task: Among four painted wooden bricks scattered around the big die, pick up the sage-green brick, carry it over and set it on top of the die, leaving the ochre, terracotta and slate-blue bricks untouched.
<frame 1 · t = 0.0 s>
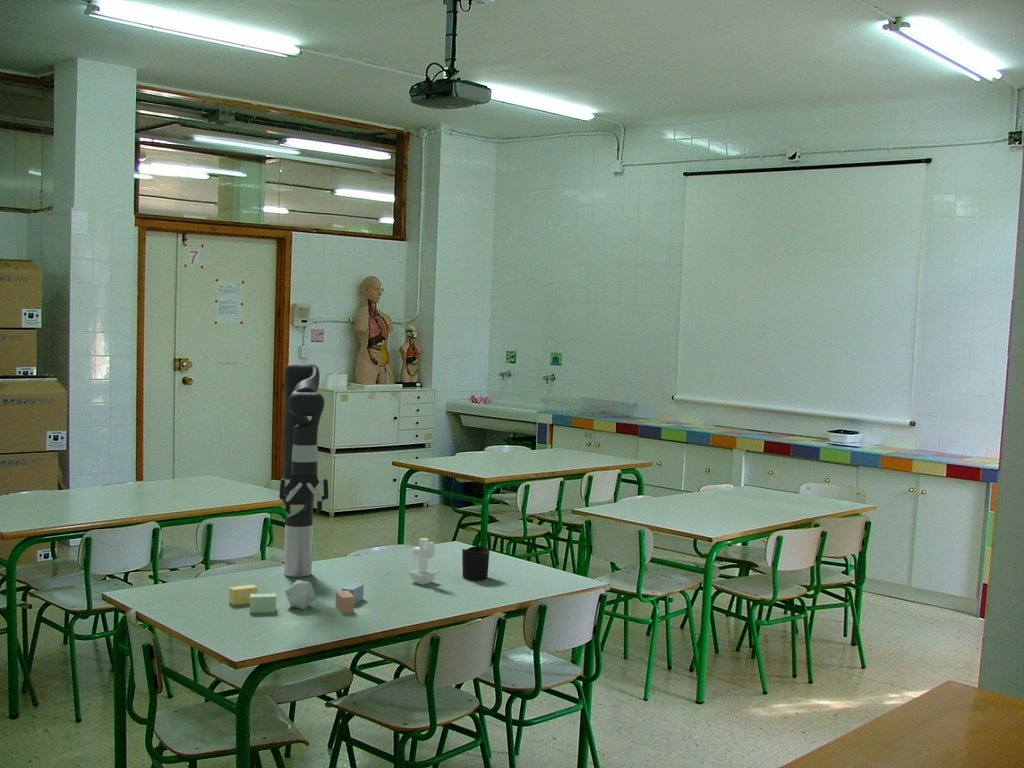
hand: (303, 513, 298), 29 cm above the table, tool pointing down, fingers open, 8 cm apart
pen holder: (474, 578, 347), on the table
die: (300, 607, 303), on the table
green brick: (262, 611, 298), on the table
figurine: (422, 582, 338), on the table
terracotta brick: (344, 609, 302), on the table
ochre brick: (243, 602, 306), on the table
slate brick: (352, 601, 312), on the table
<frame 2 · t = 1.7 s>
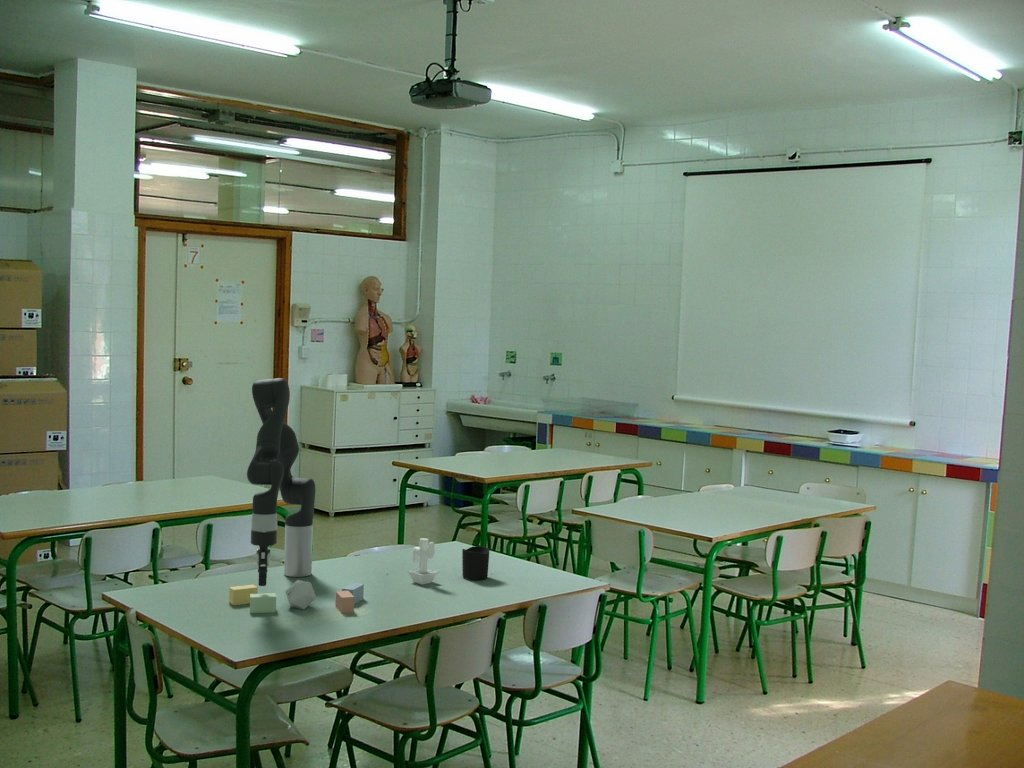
hand: (262, 582, 297), 9 cm above the table, tool pointing down, fingers open, 8 cm apart
nothing on the table moved.
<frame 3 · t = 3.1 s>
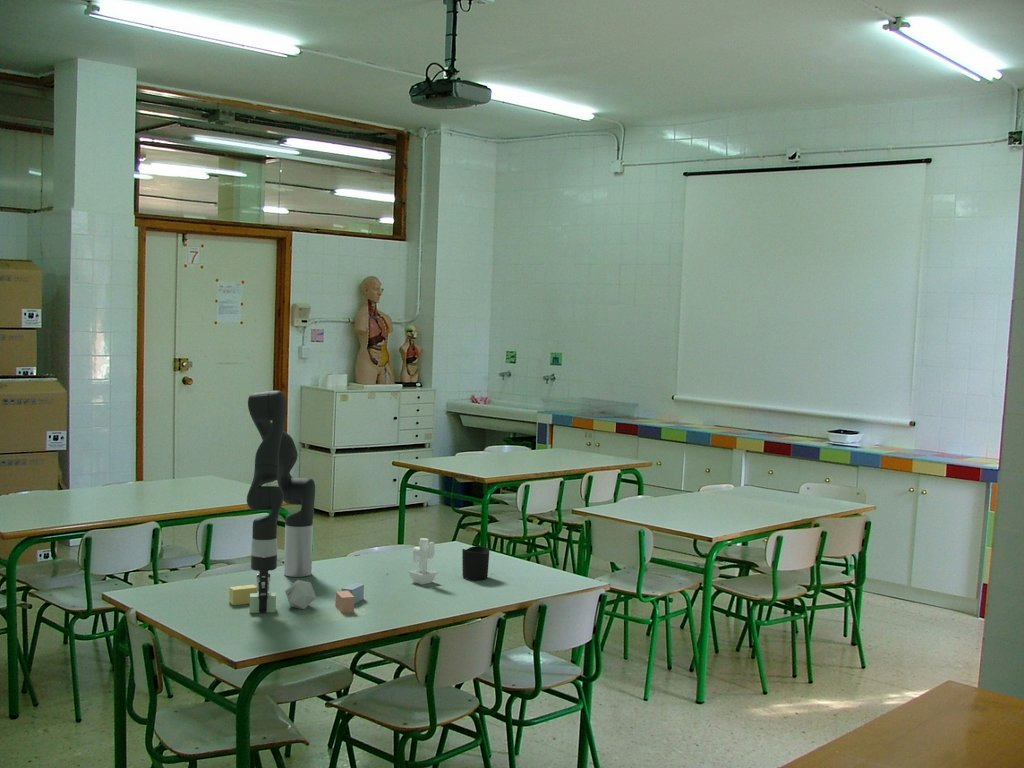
hand: (262, 609, 298), 0 cm above the table, tool pointing down, fingers closed on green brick, 3 cm apart
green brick: (262, 610, 298), on the table, touching gripper
everything else where it was.
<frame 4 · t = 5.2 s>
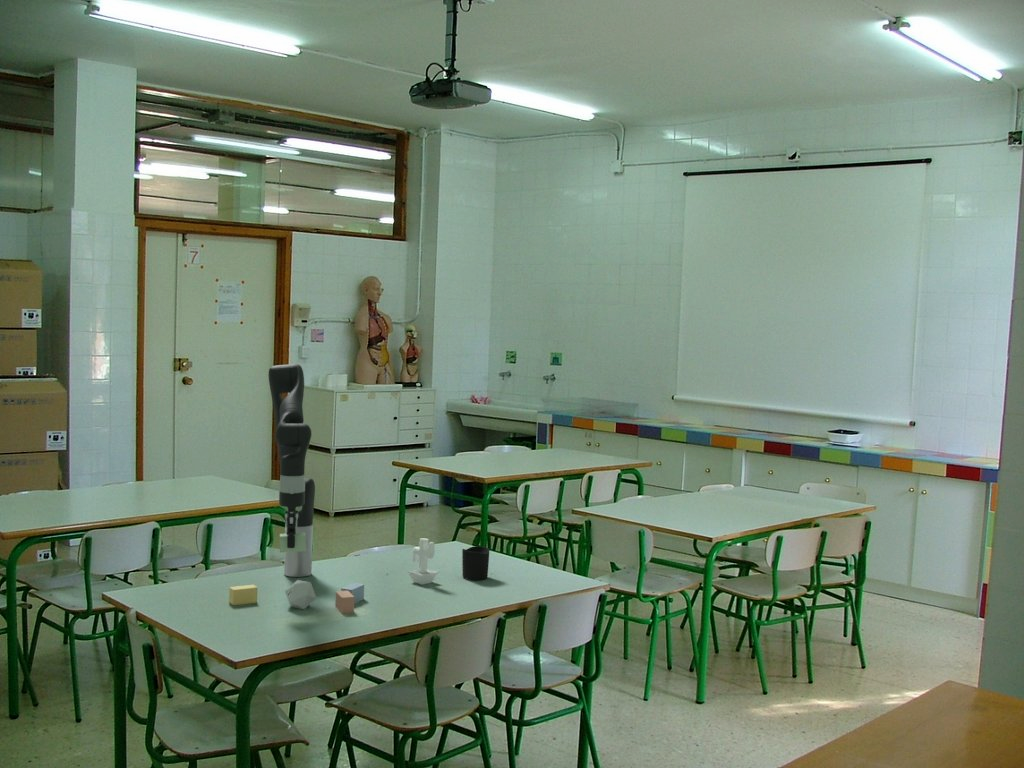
hand: (291, 545, 301), 19 cm above the table, tool pointing down, fingers closed on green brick, 3 cm apart
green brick: (292, 550, 301), point 17 cm above the table, touching gripper
everything else where it was.
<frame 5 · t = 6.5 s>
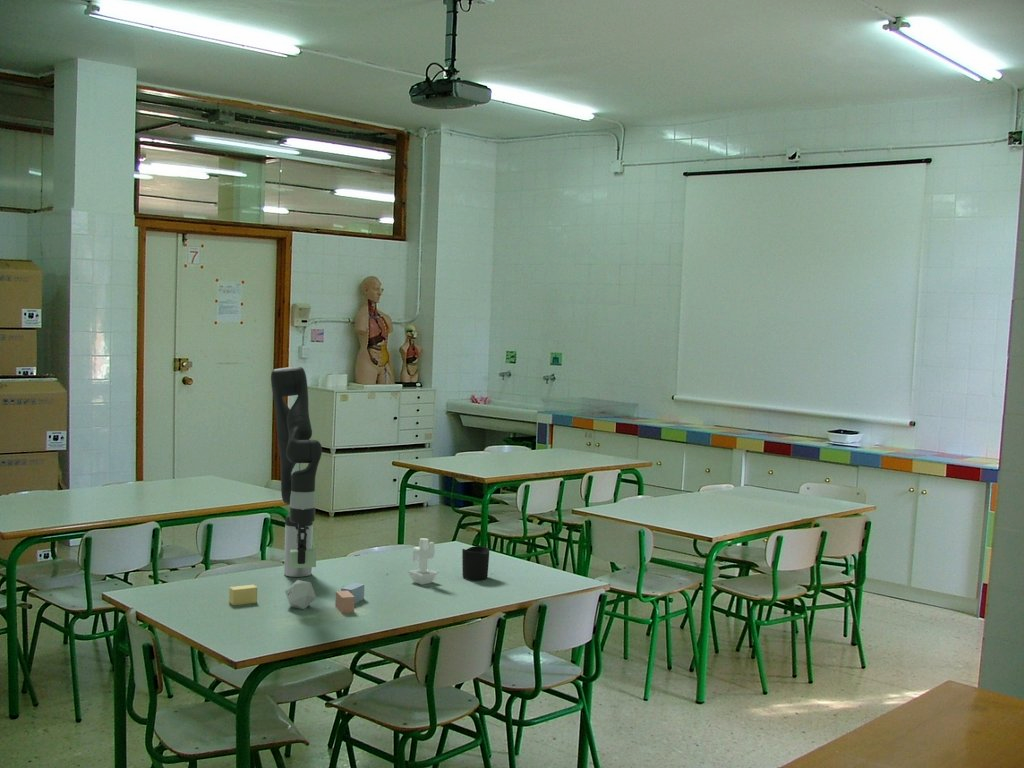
hand: (301, 561, 302), 14 cm above the table, tool pointing down, fingers closed on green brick, 3 cm apart
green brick: (303, 566, 303), point 12 cm above the table, touching gripper
everything else where it was.
when the fingers open (9 cm above the table, at t = 7.6 s): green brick stays where it is, resting on die.
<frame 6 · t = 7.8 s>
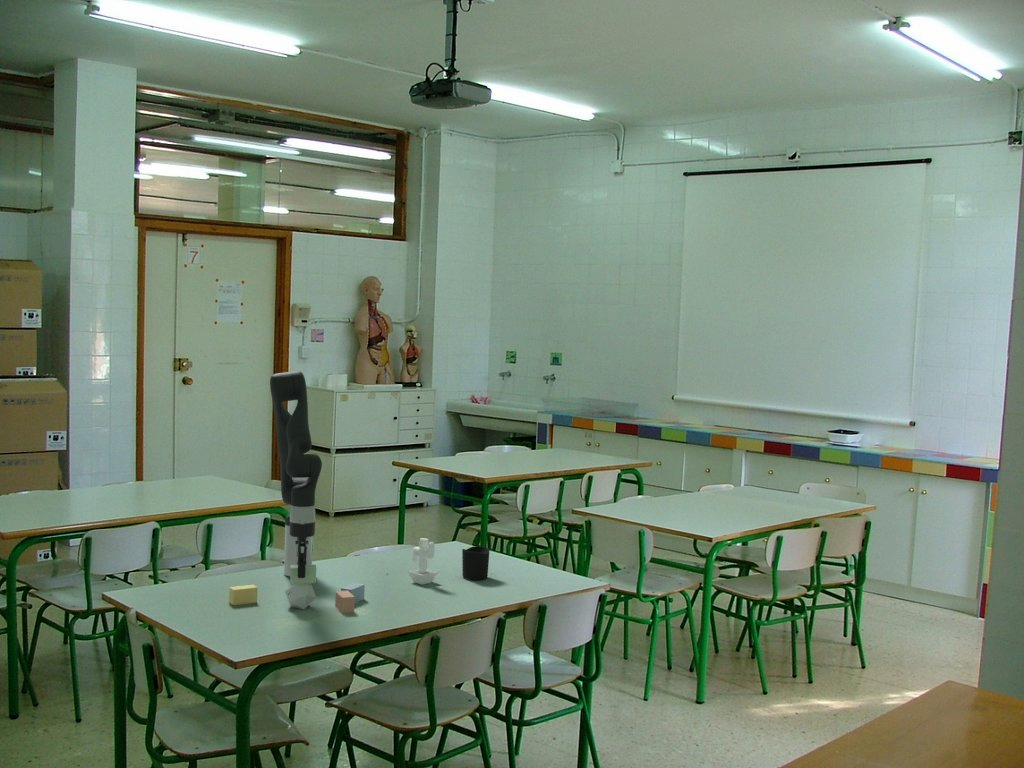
hand: (301, 575, 303), 10 cm above the table, tool pointing down, fingers open, 5 cm apart
die: (300, 607, 303), on the table, touching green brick
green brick: (303, 581, 303), point 8 cm above the table, touching die
everything else where it was.
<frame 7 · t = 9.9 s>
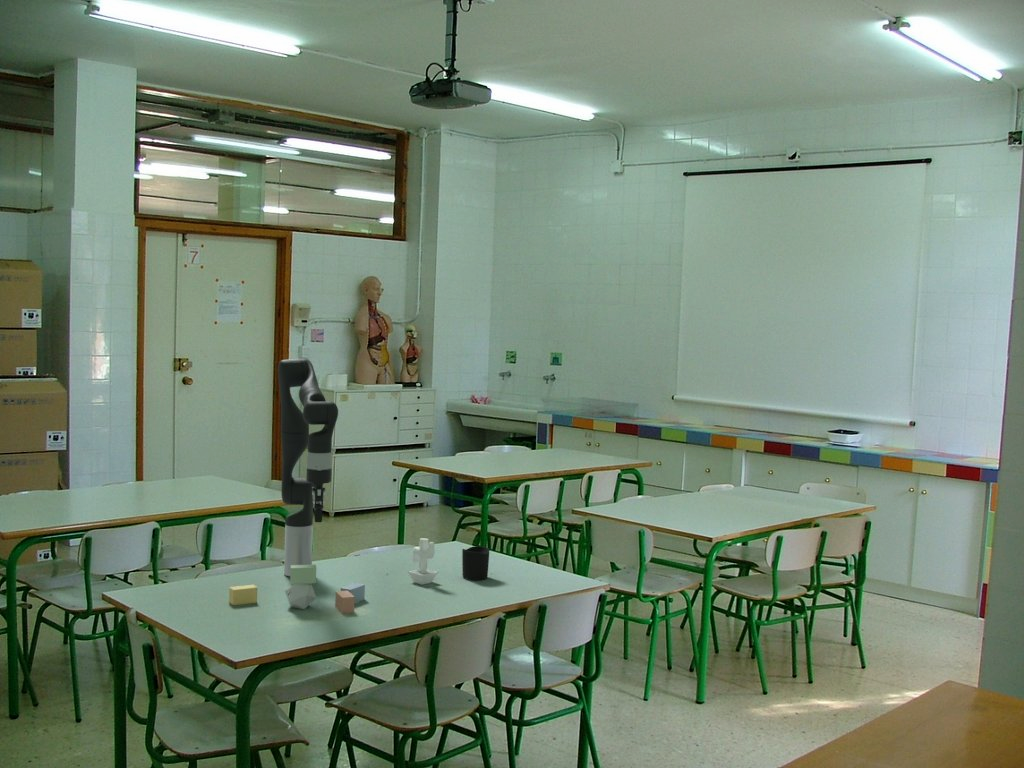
hand: (318, 519, 306), 26 cm above the table, tool pointing down, fingers open, 8 cm apart
nothing on the table moved.
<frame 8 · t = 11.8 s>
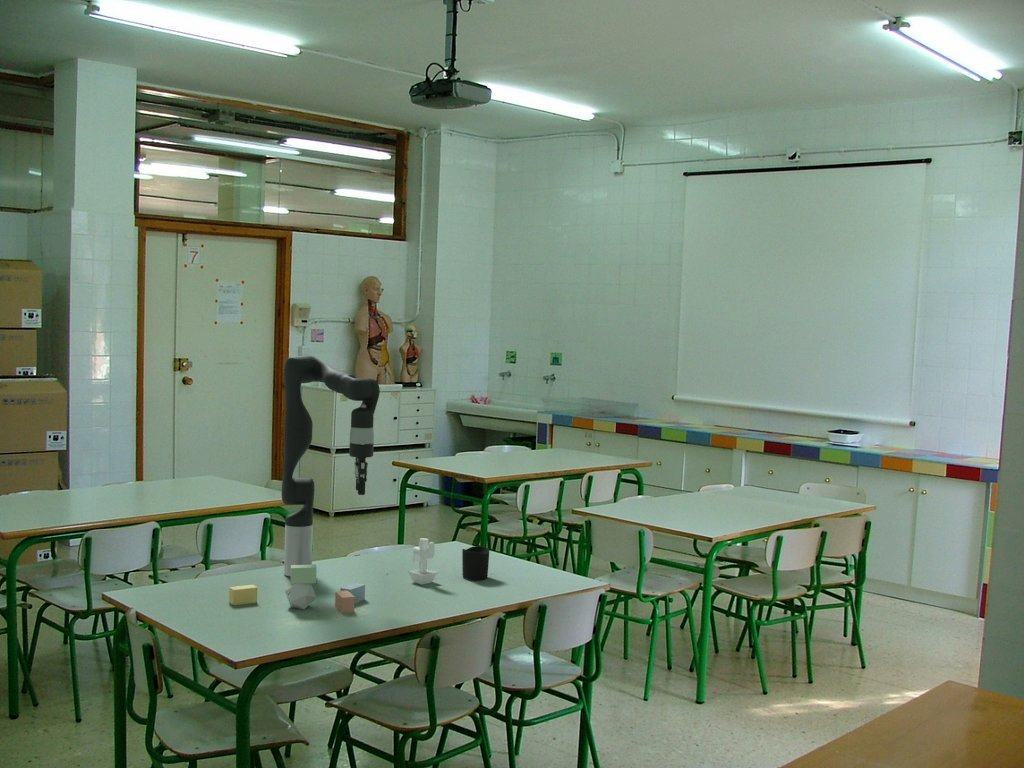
hand: (360, 492, 316), 33 cm above the table, tool pointing down, fingers open, 8 cm apart
nothing on the table moved.
at the end: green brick inside the target area on the die (0.7 cm from its centre), point 7.9 cm above the die's base; terracotta brick moved 0.2 cm from its start; ochre brick moved 0.2 cm from its start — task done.
